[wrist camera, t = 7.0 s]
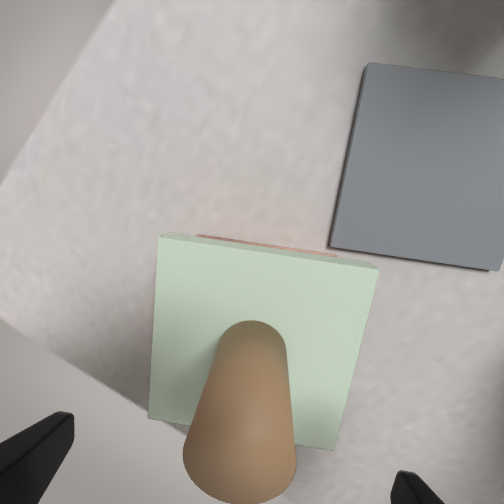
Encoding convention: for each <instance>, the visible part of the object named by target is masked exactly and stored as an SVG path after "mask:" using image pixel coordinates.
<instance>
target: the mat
mask: <svg viewBox="0 0 504 504" xmlns="http://www.w3.org/2000/svg"><path fill="white" fill-rule="evenodd" d="M329 246H330V247H336V248H342V249H349V250H356V251H363V252H370V253H376V254H383V255H390V256H397V257H404V258H410V259H417V260H424V261H431V262H438V263H444V264H451V265H458V266H465V267H472V268H478V269H485V270H492V271H499V269H500V267H501V264H502V261H503V258H504V79H502V78H494V77H486V76H477V75H469V74H461V73H452V72H444V71H436V70H427V69H419V68H411V67H402V66H394V65H386V64H377V63H368V64H367V66H366V67H365V71H364V76H363V81H362V86H361V91H360V95H359V100H358V105H357V110H356V115H355V120H354V125H353V130H352V134H351V139H350V144H349V149H348V154H347V159H346V164H345V169H344V173H343V178H342V183H341V188H340V193H339V198H338V203H337V208H336V212H335V217H334V222H333V227H332V232H331V237H330V242H329Z"/></svg>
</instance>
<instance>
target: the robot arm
mask: <svg viewBox="0 0 504 504" xmlns="http://www.w3.org/2000/svg"><path fill="white" fill-rule="evenodd" d="M73 441H74V415H73V414H72V413H68V412H62V411H59V412H56V413H54V414H52V415H50V416H48V417H46V418H45V419H43V420H41V421H39V422H38V423H36V424H34V425H32V426H31V427H28V428H27V429H25V430H23V431H21V432H19V433H18V434H16V435H14V436H12V437H10V438H9V439H7V440H5V441H3V442H1V443H0V504H38V503H39V501H40V499H41V497H42V496H43V494H44V492H45V491H46V489H47V487H48V485H49V484H50V482H51V480H52V479H53V477H54V475H55V474H56V472H57V470H58V468H59V466H60V465H61V463H62V461H63V460H64V458H65V456H66V455H67V453H68V451H69V450H70V448H71V446H72V444H73ZM390 498H391V504H445V503H444V502H443V501H442V500H441V499H440V498H439V497H438V496H437V495H436V494H435V493H434V492H433V491H432V490H431V489H430V488H429V487H428V485H427V484H426V483H425V482H424V481H423V480H422V479H421V478H420V477H419V476H418V475H417V474H415V473H413V472H408V471H403V470H400V471H399V472H398V473H397V475H396V478H395V481H394V484H393V487H392V490H391V496H390Z"/></svg>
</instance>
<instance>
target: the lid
mask: <svg viewBox="0 0 504 504" xmlns="http://www.w3.org/2000/svg"><path fill="white" fill-rule="evenodd" d="M379 271H380V270H379V269H378V268H376V267H375V266H374V265H372V264H371V263H370V262H365V261H358V260H351V259H344V258H338V257H331V256H324V255H317V254H311V253H304V252H297V251H290V250H284V249H277V248H270V247H264V246H257V245H250V244H243V243H237V242H230V241H223V240H216V239H210V238H203V237H196V236H189V235H183V234H176V233H167V234H164V235H162V236H159V237H158V252H157V269H156V286H155V303H154V320H153V337H152V354H151V371H150V389H149V406H148V419H154V420H159V421H165V422H171V423H176V424H182V425H188V426H190V429H189V432H188V435H187V438H186V441H185V443H184V447H183V461H184V465H185V469H186V471H187V473H188V475H189V476H190V478H191V480H192V481H193V482H194V483H195V484H196V485H197V486H198V487H199V488H200V489H201V490H203V491H204V492H205V493H207V494H208V495H210V496H211V497H214V498H216V499H218V500H220V501H223V502H227V503H231V504H258V503H262V502H266V501H268V500H270V499H273V498H274V497H276V496H278V495H279V494H281V493H282V492H283V491H284V490H285V489H286V488H287V487H288V486H289V484H290V483H291V481H292V479H293V477H294V474H295V471H296V452H295V444H296V445H302V446H307V447H313V448H319V449H324V450H330V451H334V447H335V444H336V440H337V436H338V432H339V428H340V424H341V420H342V416H343V412H344V408H345V404H346V400H347V396H348V392H349V389H350V385H351V381H352V377H353V373H354V369H355V365H356V361H357V357H358V353H359V349H360V345H361V341H362V337H363V333H364V330H365V326H366V322H367V318H368V314H369V310H370V306H371V302H372V298H373V294H374V290H375V286H376V282H377V278H378V274H379Z"/></svg>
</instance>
